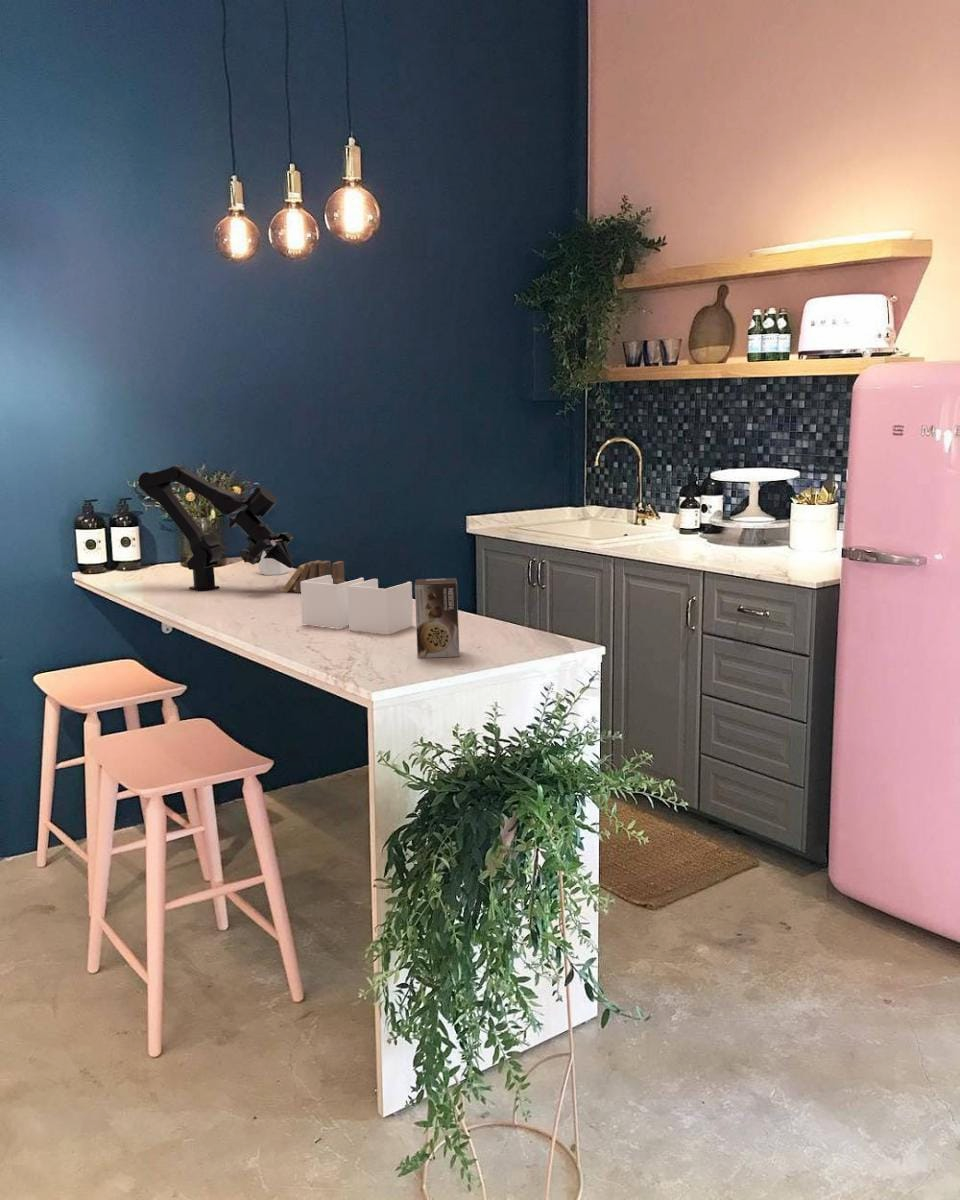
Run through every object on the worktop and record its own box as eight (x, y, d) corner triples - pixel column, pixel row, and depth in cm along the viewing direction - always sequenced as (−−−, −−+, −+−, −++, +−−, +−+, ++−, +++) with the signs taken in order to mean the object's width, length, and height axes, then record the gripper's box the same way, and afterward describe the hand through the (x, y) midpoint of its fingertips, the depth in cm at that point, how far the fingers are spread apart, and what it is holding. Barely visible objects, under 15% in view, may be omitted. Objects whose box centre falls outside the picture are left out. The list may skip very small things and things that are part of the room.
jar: (269, 570, 358) (267, 533, 356) (292, 571, 356) (290, 534, 353) (254, 574, 350) (252, 536, 348) (277, 575, 347) (275, 537, 345)
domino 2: (294, 590, 317) (305, 563, 314) (301, 587, 321) (312, 561, 319) (299, 593, 316) (310, 566, 314) (305, 590, 321) (317, 563, 319)
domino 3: (306, 592, 316) (311, 562, 314) (313, 589, 320) (317, 560, 318) (312, 593, 315) (316, 563, 313) (318, 590, 320) (323, 561, 318)
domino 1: (282, 589, 318) (299, 565, 315) (289, 586, 323) (306, 563, 320) (286, 592, 318) (303, 569, 315) (293, 589, 322) (310, 566, 320)
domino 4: (320, 594, 315) (318, 563, 313) (326, 591, 319) (325, 560, 318) (325, 594, 314) (324, 563, 313) (331, 591, 319) (330, 560, 317)
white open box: (302, 626, 273) (300, 581, 271) (329, 617, 283) (327, 574, 280) (387, 635, 261) (385, 589, 259) (412, 626, 270) (411, 581, 268)
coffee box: (458, 650, 244) (457, 577, 241) (459, 657, 238) (458, 582, 235) (417, 651, 244) (415, 578, 241) (416, 658, 237) (414, 583, 234)
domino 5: (333, 594, 314) (332, 563, 312) (339, 591, 318) (338, 561, 317) (338, 594, 313) (337, 563, 312) (345, 591, 318) (343, 561, 316)
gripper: (251, 542, 330) (287, 580, 329) (221, 551, 312) (260, 591, 312) (274, 516, 327) (311, 554, 326) (245, 524, 309) (284, 564, 308)
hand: (291, 566), depth 318 cm, fingers closed
